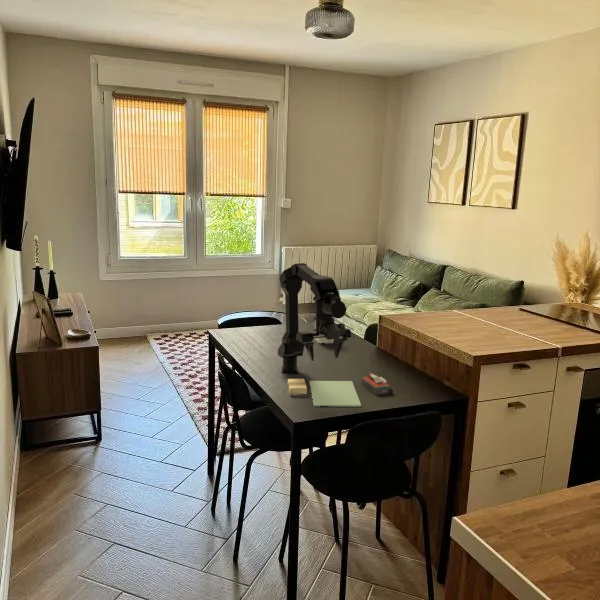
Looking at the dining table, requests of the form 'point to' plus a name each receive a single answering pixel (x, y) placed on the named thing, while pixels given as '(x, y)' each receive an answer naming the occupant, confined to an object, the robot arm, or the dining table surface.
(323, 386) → the rubber mat
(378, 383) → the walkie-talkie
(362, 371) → the dining table surface
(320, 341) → the supplement box
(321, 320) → the robot arm
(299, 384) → the brass block
